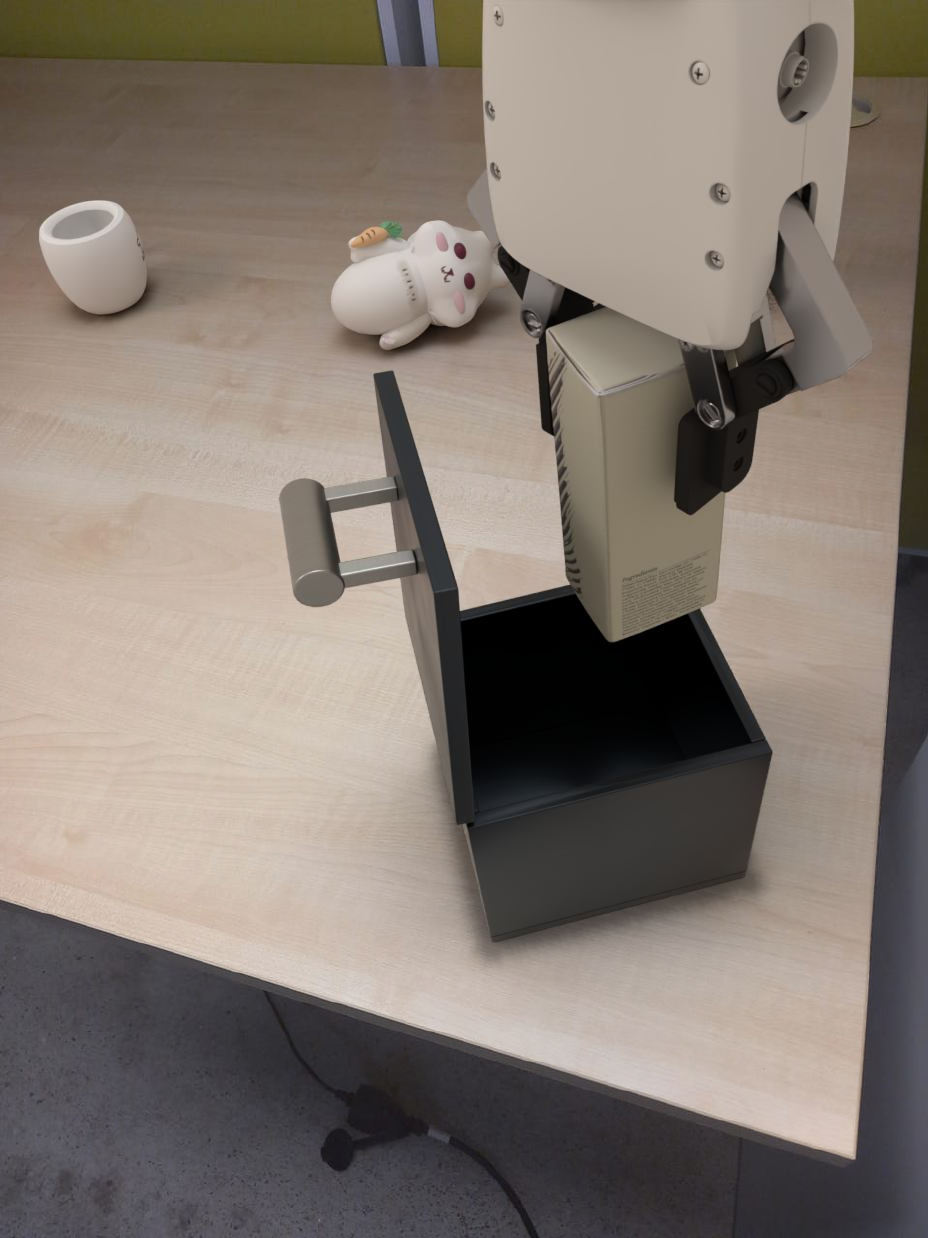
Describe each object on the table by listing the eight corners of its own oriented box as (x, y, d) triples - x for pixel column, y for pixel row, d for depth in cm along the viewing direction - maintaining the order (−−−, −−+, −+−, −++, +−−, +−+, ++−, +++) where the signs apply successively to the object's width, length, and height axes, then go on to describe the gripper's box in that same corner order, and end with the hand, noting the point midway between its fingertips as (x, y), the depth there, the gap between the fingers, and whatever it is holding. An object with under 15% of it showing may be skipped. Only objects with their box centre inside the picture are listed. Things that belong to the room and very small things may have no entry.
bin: (666, 695, 60) (675, 558, 51) (746, 876, 52) (773, 752, 43) (443, 751, 59) (414, 621, 50) (491, 943, 51) (467, 829, 43)
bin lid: (393, 369, 39) (258, 391, 39) (458, 588, 32) (291, 620, 31) (421, 613, 50) (315, 634, 50) (475, 822, 42) (351, 849, 42)
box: (667, 539, 45) (680, 275, 35) (719, 607, 42) (749, 341, 32) (557, 580, 44) (539, 322, 34) (603, 652, 41) (598, 393, 32)
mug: (157, 314, 93) (125, 234, 87) (64, 332, 93) (27, 253, 87) (160, 248, 101) (132, 170, 95) (75, 264, 101) (41, 187, 95)
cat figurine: (307, 245, 80) (491, 184, 79) (314, 249, 87) (482, 193, 87) (347, 365, 82) (525, 307, 82) (351, 359, 90) (514, 306, 90)
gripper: (1113, -157, 20) (913, 505, 34) (511, -221, 30) (544, 320, 43) (896, -32, 18) (773, 634, 31) (306, -146, 27) (411, 407, 40)
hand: (640, 448), depth 37 cm, fingers closed on box, 5 cm apart
